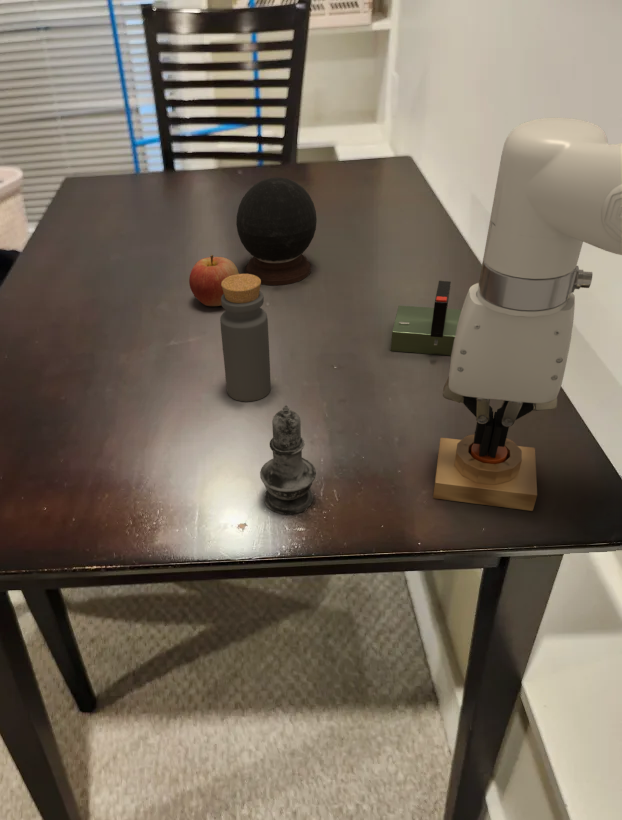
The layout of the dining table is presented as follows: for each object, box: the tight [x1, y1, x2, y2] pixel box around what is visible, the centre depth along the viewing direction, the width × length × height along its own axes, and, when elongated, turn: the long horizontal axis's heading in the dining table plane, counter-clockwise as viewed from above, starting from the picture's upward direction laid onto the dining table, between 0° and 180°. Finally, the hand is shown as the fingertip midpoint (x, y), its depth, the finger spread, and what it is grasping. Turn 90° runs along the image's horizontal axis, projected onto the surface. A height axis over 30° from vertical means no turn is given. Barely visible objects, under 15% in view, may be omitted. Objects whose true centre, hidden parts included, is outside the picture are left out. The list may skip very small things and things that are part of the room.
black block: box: [430, 280, 452, 337], centre depth 93 cm, size 6×2×5 cm, turn 164°
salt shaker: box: [259, 404, 317, 516], centre depth 70 cm, size 6×6×12 cm
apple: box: [188, 254, 240, 307], centre depth 108 cm, size 8×8×8 cm
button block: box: [432, 433, 538, 512], centre depth 73 cm, size 10×8×4 cm
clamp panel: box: [390, 305, 462, 357], centre depth 95 cm, size 12×11×3 cm
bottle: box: [219, 273, 272, 402], centre depth 86 cm, size 6×6×15 cm
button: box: [470, 444, 507, 464], centre depth 72 cm, size 4×4×2 cm
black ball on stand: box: [236, 177, 318, 286], centre depth 113 cm, size 13×13×15 cm
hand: (487, 448), depth 72 cm, fingers closed
